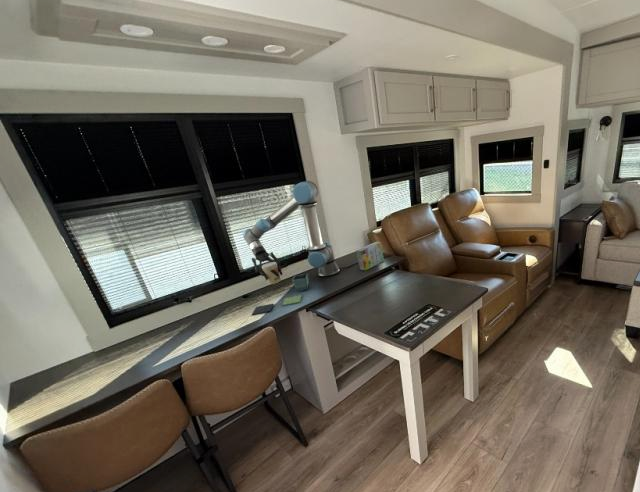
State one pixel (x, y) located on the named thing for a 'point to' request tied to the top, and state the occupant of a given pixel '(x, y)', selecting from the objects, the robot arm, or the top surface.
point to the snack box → (370, 256)
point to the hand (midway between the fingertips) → (274, 276)
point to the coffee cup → (271, 272)
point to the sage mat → (292, 300)
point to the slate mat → (262, 309)
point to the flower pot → (301, 282)
